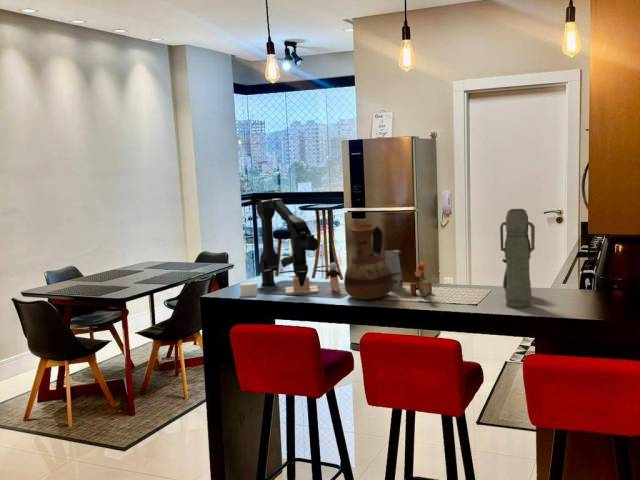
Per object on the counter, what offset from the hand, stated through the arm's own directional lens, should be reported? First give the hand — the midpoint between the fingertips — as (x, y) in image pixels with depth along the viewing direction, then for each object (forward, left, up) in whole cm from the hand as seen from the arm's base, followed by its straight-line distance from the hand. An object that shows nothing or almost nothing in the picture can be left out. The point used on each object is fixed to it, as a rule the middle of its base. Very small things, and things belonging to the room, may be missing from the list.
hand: (301, 284), depth 273 cm
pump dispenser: (+38, +82, -3) cm, 90 cm away
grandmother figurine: (+5, +14, -3) cm, 15 cm away
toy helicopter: (+28, +48, -3) cm, 55 cm away
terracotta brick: (0, 0, -2) cm, 2 cm away
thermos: (+53, +77, -3) cm, 94 cm away
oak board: (0, 0, -3) cm, 3 cm away
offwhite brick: (0, -23, -3) cm, 23 cm away
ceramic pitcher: (+21, +27, -3) cm, 34 cm away
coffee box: (+7, +40, -3) cm, 41 cm away
